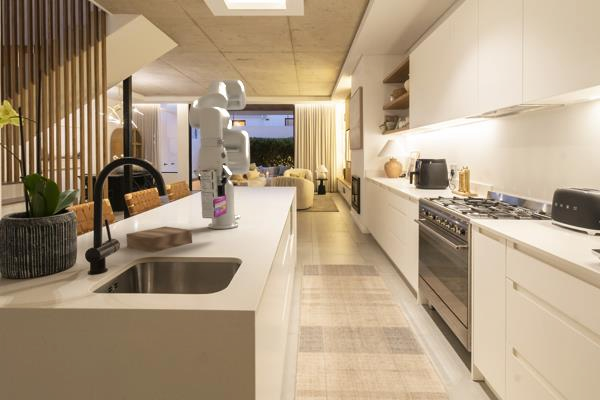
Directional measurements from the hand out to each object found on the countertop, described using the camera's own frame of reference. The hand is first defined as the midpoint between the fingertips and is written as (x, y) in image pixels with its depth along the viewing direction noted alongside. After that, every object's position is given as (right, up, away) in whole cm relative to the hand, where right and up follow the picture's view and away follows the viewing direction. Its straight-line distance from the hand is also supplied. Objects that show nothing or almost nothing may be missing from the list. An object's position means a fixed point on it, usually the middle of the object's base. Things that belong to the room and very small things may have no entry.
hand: (213, 195), depth 143 cm
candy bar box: (0, -7, +1) cm, 7 cm away
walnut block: (-18, -18, -1) cm, 25 cm away
